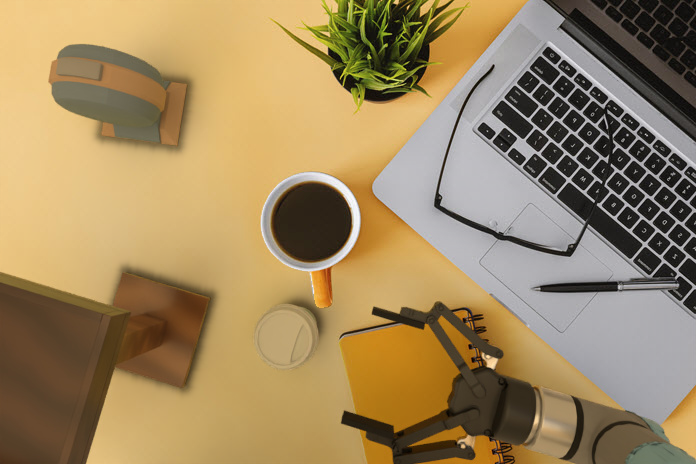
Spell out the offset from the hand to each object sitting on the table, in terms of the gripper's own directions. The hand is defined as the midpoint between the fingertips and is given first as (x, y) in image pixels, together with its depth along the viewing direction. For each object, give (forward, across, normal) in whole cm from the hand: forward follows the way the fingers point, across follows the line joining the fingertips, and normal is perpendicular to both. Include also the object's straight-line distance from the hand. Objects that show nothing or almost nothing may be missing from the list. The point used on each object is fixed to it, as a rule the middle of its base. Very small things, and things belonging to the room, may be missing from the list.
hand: (357, 363), depth 60 cm
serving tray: (+31, -7, +16) cm, 36 cm away
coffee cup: (+10, 0, -13) cm, 16 cm away
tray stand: (+31, -7, -13) cm, 34 cm away
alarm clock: (+43, +25, -13) cm, 51 cm away
